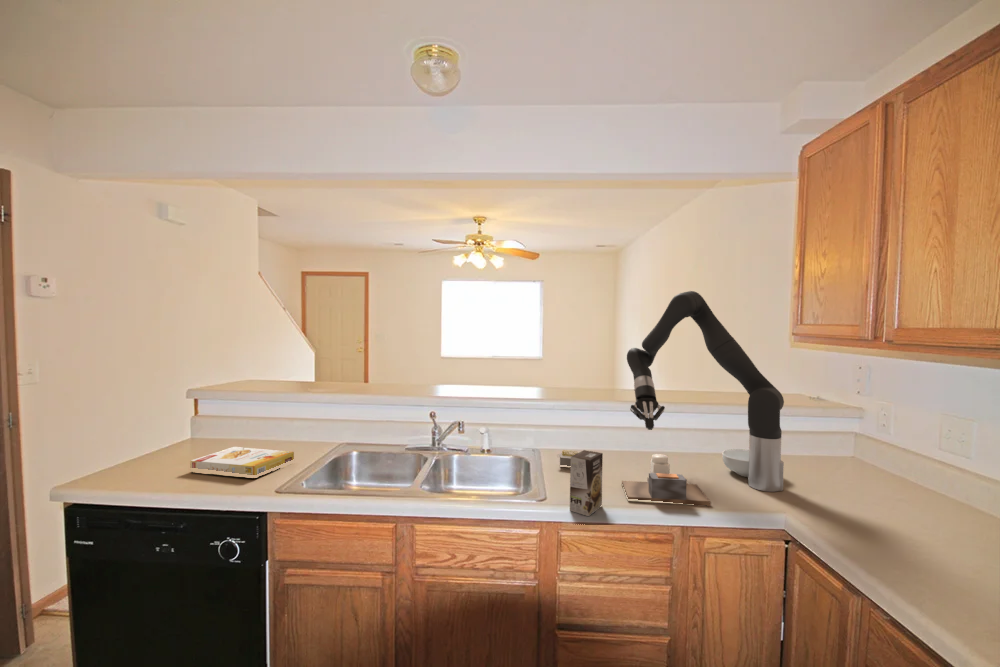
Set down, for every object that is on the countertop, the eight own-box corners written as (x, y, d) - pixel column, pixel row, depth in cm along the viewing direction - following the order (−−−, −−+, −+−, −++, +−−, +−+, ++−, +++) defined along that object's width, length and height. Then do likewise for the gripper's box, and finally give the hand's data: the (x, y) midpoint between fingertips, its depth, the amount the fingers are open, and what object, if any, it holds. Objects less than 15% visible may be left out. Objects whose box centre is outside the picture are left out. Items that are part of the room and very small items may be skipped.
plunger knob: (665, 480, 152) (666, 454, 151) (669, 486, 147) (669, 458, 146) (650, 480, 152) (650, 453, 152) (653, 485, 147) (653, 458, 147)
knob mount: (696, 488, 149) (696, 465, 149) (710, 506, 135) (710, 480, 135) (621, 485, 152) (622, 461, 152) (628, 501, 138) (628, 476, 138)
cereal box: (254, 465, 155) (188, 458, 161) (254, 481, 155) (188, 474, 162) (295, 450, 174) (234, 444, 181) (294, 464, 174) (234, 458, 181)
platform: (550, 461, 179) (550, 445, 179) (596, 466, 173) (597, 449, 173) (543, 471, 167) (543, 453, 167) (593, 476, 162) (593, 458, 161)
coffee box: (589, 516, 128) (589, 460, 127) (568, 511, 131) (569, 455, 131) (602, 506, 135) (603, 452, 134) (583, 501, 139) (583, 448, 138)
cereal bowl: (761, 467, 172) (762, 449, 171) (784, 483, 155) (785, 462, 155) (714, 465, 173) (715, 447, 173) (732, 481, 157) (733, 461, 156)
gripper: (628, 383, 175) (632, 422, 163) (663, 384, 173) (671, 423, 161) (626, 395, 180) (630, 433, 169) (660, 396, 179) (667, 434, 167)
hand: (650, 428), depth 165 cm, fingers closed
